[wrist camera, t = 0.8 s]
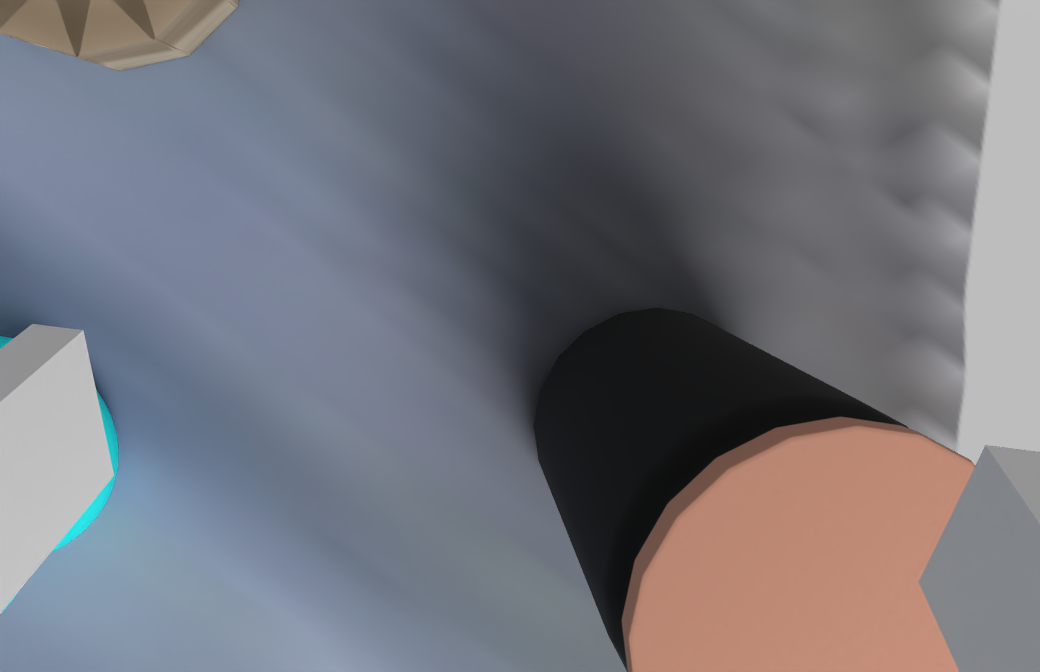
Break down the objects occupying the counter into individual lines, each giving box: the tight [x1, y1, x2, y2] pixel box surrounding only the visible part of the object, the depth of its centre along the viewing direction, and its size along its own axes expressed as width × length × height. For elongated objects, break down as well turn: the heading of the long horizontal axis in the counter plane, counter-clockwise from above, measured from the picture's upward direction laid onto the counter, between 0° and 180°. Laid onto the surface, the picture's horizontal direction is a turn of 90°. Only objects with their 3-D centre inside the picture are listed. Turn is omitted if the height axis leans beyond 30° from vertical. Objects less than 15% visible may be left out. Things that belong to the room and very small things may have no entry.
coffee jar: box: [534, 308, 975, 672], centre depth 28 cm, size 11×11×18 cm
